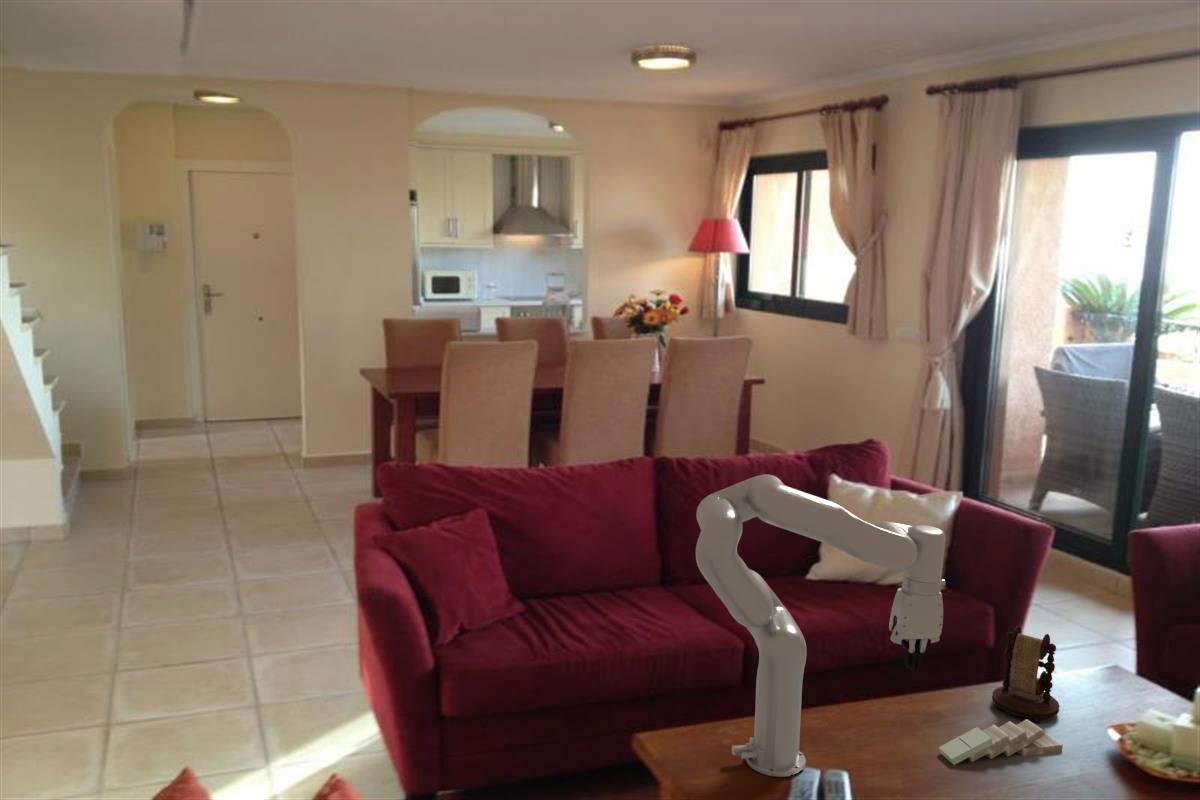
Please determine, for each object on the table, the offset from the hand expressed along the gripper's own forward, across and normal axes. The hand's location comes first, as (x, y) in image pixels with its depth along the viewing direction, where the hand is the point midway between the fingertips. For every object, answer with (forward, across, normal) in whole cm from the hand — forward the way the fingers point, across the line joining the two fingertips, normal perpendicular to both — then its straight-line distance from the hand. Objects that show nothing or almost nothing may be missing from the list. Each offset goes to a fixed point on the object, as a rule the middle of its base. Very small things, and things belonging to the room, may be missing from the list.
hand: (911, 667), depth 209 cm
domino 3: (+20, -19, 0) cm, 28 cm away
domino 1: (+20, -10, +1) cm, 23 cm away
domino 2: (+20, -14, 0) cm, 25 cm away
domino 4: (+20, -23, 0) cm, 31 cm away
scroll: (+20, -41, -17) cm, 49 cm away
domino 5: (+20, -27, 0) cm, 34 cm away
